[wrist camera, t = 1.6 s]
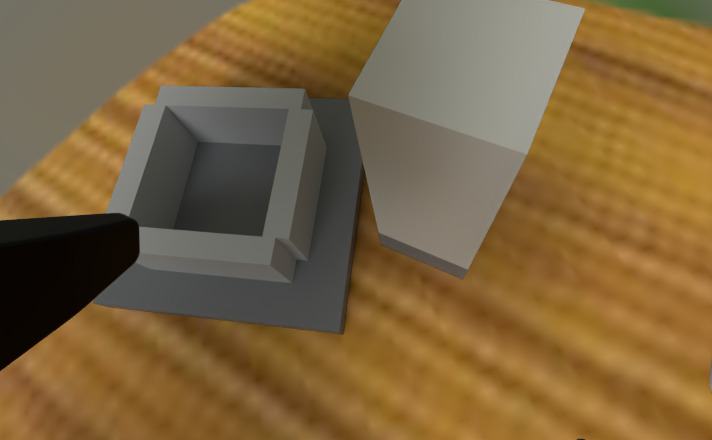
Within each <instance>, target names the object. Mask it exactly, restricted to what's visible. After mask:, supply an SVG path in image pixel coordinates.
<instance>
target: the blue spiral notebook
mask: <svg viewBox="0 0 712 440" xmlns="http://www.w3.org/2000/svg"><path fill="white" fill-rule="evenodd" d="M709 380H710V387H711V391H712V362H711V370H710V377H709Z"/></svg>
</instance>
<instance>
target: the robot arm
mask: <svg viewBox="0 0 712 440" xmlns="http://www.w3.org/2000/svg"><path fill="white" fill-rule="evenodd" d="M139 254H140V235H139V224H138V222H137V221H136V220H135V219H133V218H131V217H129V216H127V215H125V214H122V213H106V214H91V215H76V216H61V217H46V218H31V219H16V220H1V221H0V371H1V370H2V369H4V368H5V367H6V366H8V365H9V364H10V363H12V362H13V361H14V360H16V359H17V358H19V357H20V356H21V355H23V354H24V353H25V352H27V351H28V350H29V349H31V348H32V347H33V346H35V345H36V344H37V343H39V342H40V341H41V340H43V339H44V338H45V337H47V336H48V335H49V334H51V333H52V332H53V331H55V330H56V329H58V328H59V327H60V326H62V325H63V324H64V323H66V322H67V321H68V320H70V319H71V318H72V317H73V316H75V315H76V314H77V313H79V312H80V311H81V310H82V309H83V308H84V307H86V306H87V305H88V304H89V303H90V302H91V301H92V300H94V299H95V298H96V297H97V296H98V295H99V294H100V293H101V292H103V291H104V290H105V289H106V288H107V287H108V286H109V285H111V284H112V283H113V282H114V281H115V280H116V279H117V278H118V277H120V276H121V275H122V274H123V273H124V272H125V271H126V270H127V269H129V268H130V267H131V266H132V265H133V264H134V263H135V262H136V261H137V259H138V257H139ZM577 440H585V439H577Z"/></svg>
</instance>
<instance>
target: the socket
mask: <svg viewBox="0 0 712 440" xmlns="http://www.w3.org/2000/svg"><path fill="white" fill-rule="evenodd" d="M363 176H364V165H363V161H362V156H361V152H360V147H359V143H358V138H357V134H356V129H355V125H354V120H353V116H352V111H351V107H350V102H349V99H328V98H308V95H307V93H306V90H305V89H298V88H252V87H207V86H161V88H160V91H159V94H158V97H157V100H156V103H155V105H144V106H143V109H142V112H141V115H140V118H139V121H138V123H137V126H136V129H135V132H134V135H133V138H132V141H131V143H130V146H129V149H128V152H127V155H126V158H125V160H124V163H123V166H122V169H121V172H120V175H119V178H118V180H117V183H116V186H115V189H114V192H113V195H112V197H111V200H110V203H109V206H108V209H107V212H106V213H122V214H125V215H127V216H129V217H131V218H133V219H135V220H136V221H137V222H138V224H139V235H140V254H139V257H138V259H137V261H136V262H135V263H134V264H133V265H132V266H131V267H130V268H129V269H127V270H126V271H125V272H124V273H123V274H122V275H121V276H120V277H118V278H117V279H116V280H115V281H114V282H113V283H112V284H111V285H109V286H108V287H107V288H106V289H105V290H104V291H103V292H101V293H100V294H99V295H98V296H97V297H96V298H95V299H94V301H93V303H94V304H98V305H102V306H106V307H112V308H121V309H129V310H138V311H147V312H155V313H164V314H172V315H181V316H190V317H198V318H207V319H215V320H224V321H233V322H241V323H250V324H258V325H267V326H276V327H284V328H293V329H301V330H310V331H319V332H327V333H336V334H343V332H344V324H345V316H346V308H347V301H348V293H349V285H350V277H351V270H352V262H353V254H354V246H355V239H356V231H357V223H358V215H359V207H360V200H361V192H362V184H363Z"/></svg>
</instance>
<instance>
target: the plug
mask: <svg viewBox="0 0 712 440" xmlns="http://www.w3.org/2000/svg"><path fill="white" fill-rule="evenodd" d="M584 11H585V8H580V7H576V6H572V5H567V4H563V3H559V2H554V1H550V0H402V1H401V3H400V4H399V6H398V8H397V10H396V11H395V13H394V15H393V17H392V18H391V20H390V22H389V24H388V26H387V27H386V29H385V31H384V33H383V34H382V36H381V38H380V40H379V41H378V43H377V45H376V47H375V48H374V50H373V52H372V54H371V55H370V57H369V59H368V61H367V63H366V64H365V66H364V68H363V70H362V71H361V73H360V75H359V77H358V78H357V80H356V82H355V84H354V85H353V87H352V89H351V91H350V93H349V94H348V98H349V102H350V107H351V111H352V116H353V120H354V125H355V129H356V134H357V138H358V143H359V147H360V152H361V156H362V161H363V165H364V170H365V174H366V179H367V183H368V188H369V192H370V197H371V201H372V206H373V210H374V214H375V219H376V223H377V228H378V232H379V237H380V241H381V245H383V246H385V247H388V248H390V249H392V250H395V251H397V252H399V253H402V254H404V255H406V256H409V257H411V258H413V259H416V260H418V261H420V262H423V263H425V264H428V265H430V266H432V267H435V268H437V269H439V270H442V271H444V272H446V273H449V274H451V275H453V276H456V277H458V278H460V279H464V277H465V275H466V273H467V271H468V269H469V267H470V265H471V263H472V261H473V259H474V257H475V255H476V253H477V251H478V249H479V247H480V245H481V244H482V242H483V240H484V238H485V236H486V234H487V232H488V230H489V228H490V226H491V224H492V222H493V220H494V218H495V216H496V214H497V212H498V210H499V209H500V207H501V205H502V203H503V201H504V199H505V197H506V195H507V193H508V191H509V189H510V187H511V185H512V183H513V181H514V179H515V177H516V175H517V173H518V172H519V170H520V168H521V166H522V164H523V162H524V160H525V158H526V156H527V154H528V151H529V149H530V146H531V144H532V141H533V139H534V136H535V134H536V131H537V129H538V126H539V124H540V121H541V119H542V116H543V114H544V111H545V109H546V106H547V104H548V101H549V99H550V96H551V94H552V91H553V89H554V86H555V84H556V81H557V79H558V76H559V73H560V71H561V68H562V66H563V63H564V61H565V58H566V56H567V53H568V51H569V48H570V46H571V43H572V41H573V38H574V36H575V33H576V31H577V28H578V26H579V23H580V21H581V18H582V16H583V13H584Z"/></svg>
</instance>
